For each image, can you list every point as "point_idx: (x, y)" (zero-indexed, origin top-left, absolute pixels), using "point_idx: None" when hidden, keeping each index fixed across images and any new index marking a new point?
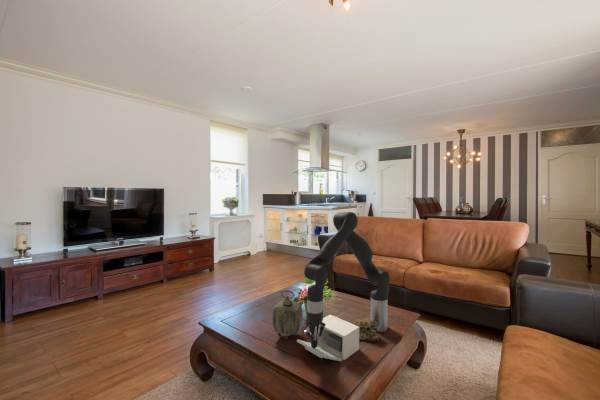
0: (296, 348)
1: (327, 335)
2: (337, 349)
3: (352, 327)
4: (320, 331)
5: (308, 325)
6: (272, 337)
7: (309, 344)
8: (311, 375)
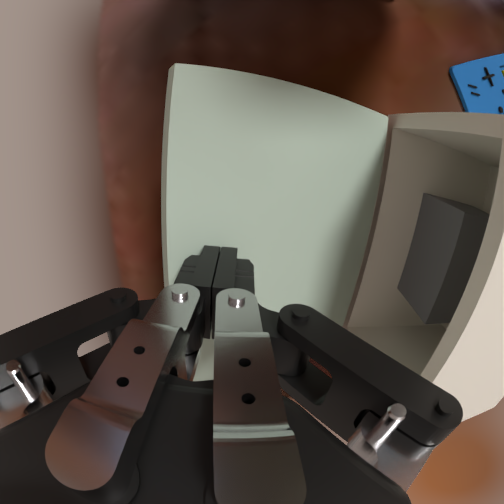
0: (279, 31)
1: (463, 216)
2: (405, 275)
3: (489, 399)
4: (304, 400)
5: (7, 475)
6: None
7: (260, 169)
8: (142, 270)
